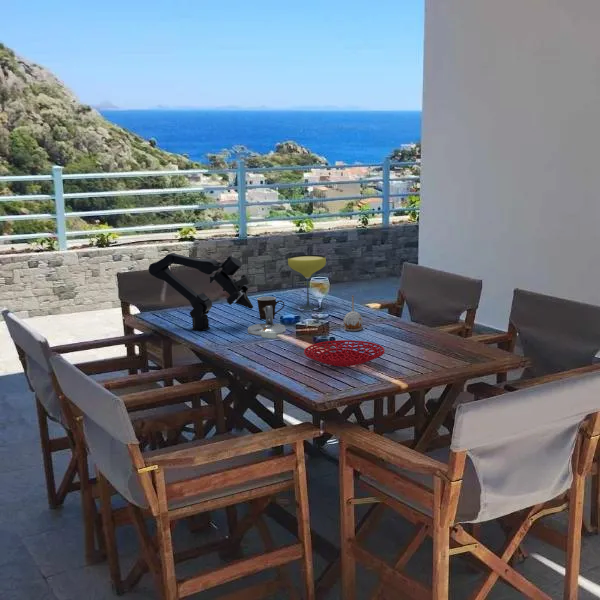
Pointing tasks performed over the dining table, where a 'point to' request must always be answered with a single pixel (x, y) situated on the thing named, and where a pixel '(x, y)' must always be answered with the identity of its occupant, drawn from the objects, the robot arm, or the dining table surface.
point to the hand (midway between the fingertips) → (252, 308)
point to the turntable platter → (267, 325)
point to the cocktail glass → (307, 269)
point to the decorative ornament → (353, 319)
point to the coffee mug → (267, 302)
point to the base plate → (267, 334)
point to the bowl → (344, 353)
